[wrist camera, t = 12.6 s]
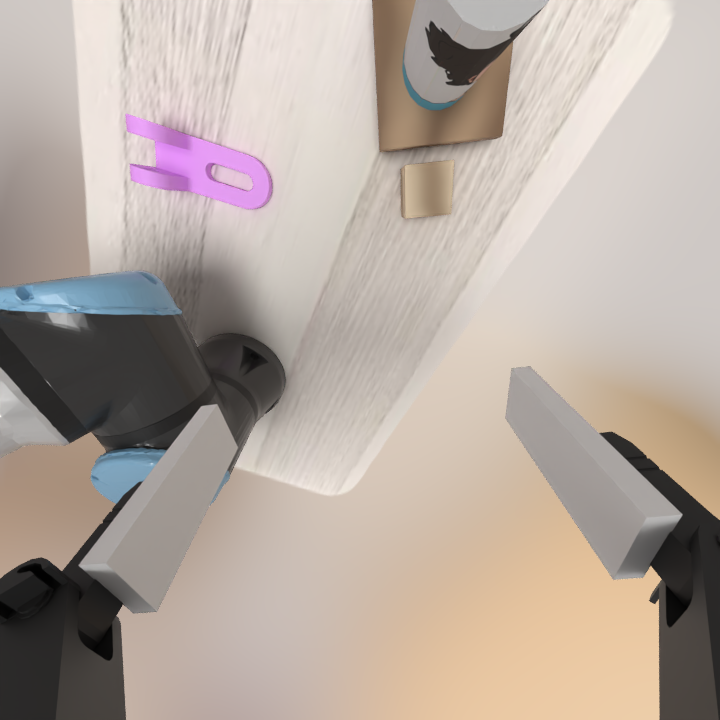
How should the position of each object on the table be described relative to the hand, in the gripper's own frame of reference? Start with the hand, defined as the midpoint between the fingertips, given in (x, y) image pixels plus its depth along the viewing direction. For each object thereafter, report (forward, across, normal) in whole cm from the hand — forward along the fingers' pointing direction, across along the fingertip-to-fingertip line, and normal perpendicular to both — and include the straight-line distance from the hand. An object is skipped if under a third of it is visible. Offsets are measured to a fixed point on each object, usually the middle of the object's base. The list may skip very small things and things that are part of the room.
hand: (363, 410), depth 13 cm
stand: (+30, +10, +18) cm, 37 cm away
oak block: (+30, +9, +8) cm, 33 cm away
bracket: (+31, -15, +14) cm, 38 cm away
